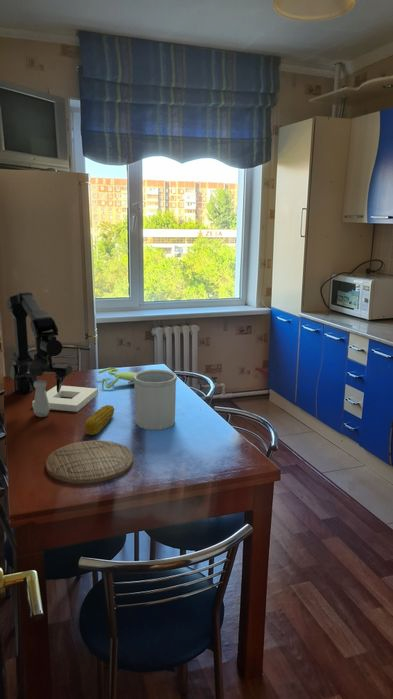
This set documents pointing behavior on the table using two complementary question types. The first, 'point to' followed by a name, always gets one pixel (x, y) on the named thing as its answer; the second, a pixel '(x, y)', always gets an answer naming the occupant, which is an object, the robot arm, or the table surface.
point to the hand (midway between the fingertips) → (46, 391)
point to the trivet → (89, 462)
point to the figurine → (117, 376)
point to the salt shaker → (41, 399)
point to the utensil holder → (155, 399)
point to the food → (98, 420)
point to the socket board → (77, 393)
